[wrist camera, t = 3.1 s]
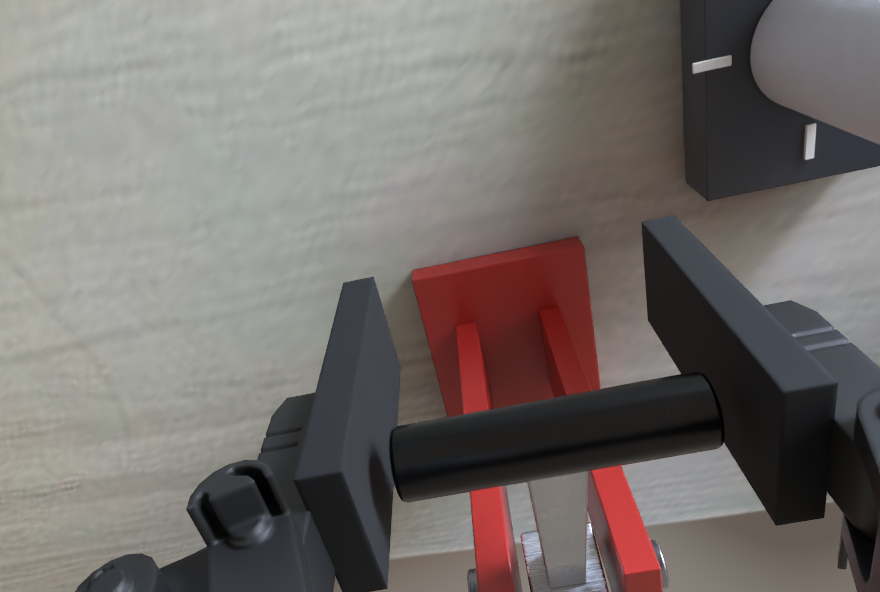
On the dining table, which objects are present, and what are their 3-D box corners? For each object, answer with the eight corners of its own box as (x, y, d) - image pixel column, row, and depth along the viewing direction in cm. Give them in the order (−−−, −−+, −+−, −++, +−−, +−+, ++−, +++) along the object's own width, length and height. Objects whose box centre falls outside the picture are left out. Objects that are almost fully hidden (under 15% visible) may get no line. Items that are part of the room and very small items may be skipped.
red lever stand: (412, 269, 30) (400, 537, 16) (578, 235, 29) (717, 483, 15) (454, 428, 35) (473, 743, 21) (598, 402, 34) (719, 709, 20)
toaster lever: (384, 388, 11) (392, 521, 10) (691, 330, 11) (746, 461, 9) (479, 563, 22) (490, 641, 20) (638, 537, 21) (661, 615, 20)
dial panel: (663, -95, 23) (689, -102, 21) (915, -157, 22) (972, -171, 20) (674, 185, 28) (696, 205, 26) (880, 142, 28) (922, 159, 25)
